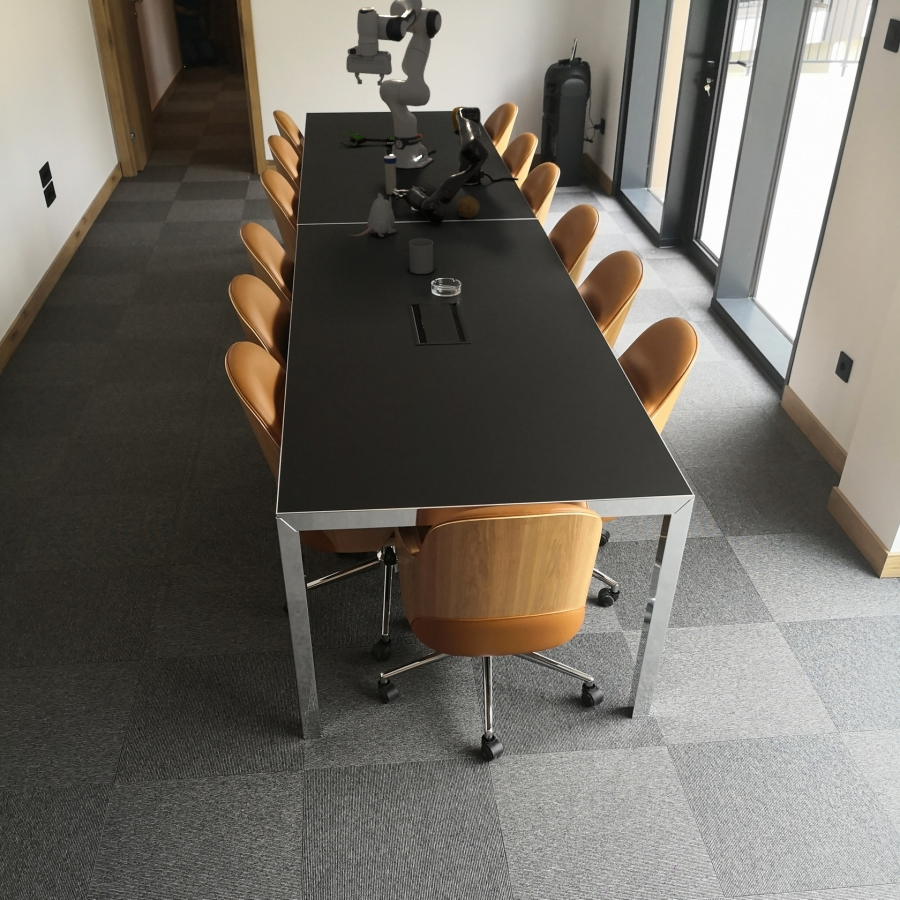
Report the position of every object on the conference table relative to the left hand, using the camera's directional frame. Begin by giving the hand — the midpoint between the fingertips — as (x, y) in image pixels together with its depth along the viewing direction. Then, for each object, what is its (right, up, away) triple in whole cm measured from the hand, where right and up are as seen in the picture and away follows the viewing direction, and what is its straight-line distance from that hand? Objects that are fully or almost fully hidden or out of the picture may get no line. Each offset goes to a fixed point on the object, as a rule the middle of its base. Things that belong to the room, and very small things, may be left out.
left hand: (369, 84), depth 379 cm
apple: (+42, +21, +112) cm, 121 cm away
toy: (+5, -77, -41) cm, 87 cm away
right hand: (+15, -48, -7) cm, 51 cm away
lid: (+9, -32, +1) cm, 33 cm away
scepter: (-8, +3, +84) cm, 84 cm away
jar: (+9, -45, +9) cm, 46 cm away
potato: (+42, -63, -20) cm, 79 cm away
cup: (+25, -96, -71) cm, 122 cm away
